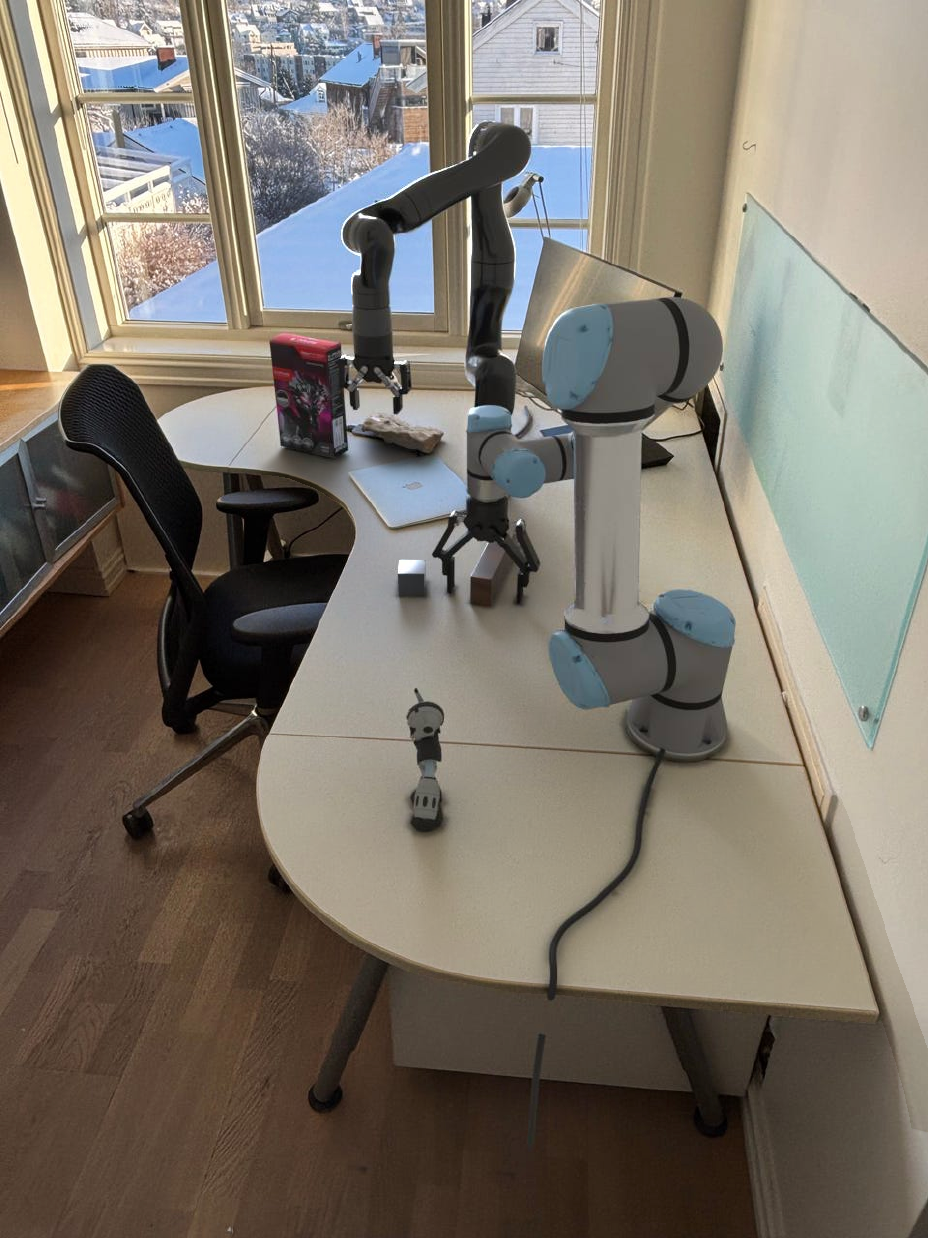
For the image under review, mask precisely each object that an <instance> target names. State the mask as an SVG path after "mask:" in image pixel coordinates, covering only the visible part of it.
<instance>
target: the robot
mask: <svg viewBox="0 0 928 1238" xmlns="http://www.w3.org/2000/svg"><path fill="white" fill-rule="evenodd" d="M413 691H414V694H415V696H416V699H417V703H415V704H414V705H413V706H411V707H410V708H409V709H408V711H407V713H406V714H405V716H406V717H405V718H406V720H407V722H406V724H407V725H408V728H409V738H410V739H411V740H413V742H412V743H413V745H414V747H415V749H416V764H417V766H418V769H419V770H420V773H421V775H420V778H419V780H418V784H417V786H416V788H415V789H414V791H413V792H412V793H411V795H410V796H409V798H410V801H411V803H412V805H413V815H412V817H411V820H410V822H409V823H410V825H411V826H412V827H413V828H414V829H415V830H416V831H420V832H424V833H425V832H431V831H433V830H435V829H437V828H440V827H441V826H442V822H443V820H444V817H443V809H442V806H441V802H442V801H443V798H442V797H443V795H442V794H443V793H442V789H441V787H440V784H439V780H437V777H436V776H435V774H436V773H437V769H438V768H437V767H438V765H437V764H438V763H442V756H443V754H442V746H441V743H440V738H439V734H441V732H442V731H441V727H442V726H443V724H444V723H445V713H444V709H443V708H442V707H441V706H440V705H439V704H437V703H436V702H433V701H430V700H424V698H423V696H422V695H421V693H420V691H419V690H418V688H417V687H415V688H414V689H413ZM437 762H438V763H437Z"/></svg>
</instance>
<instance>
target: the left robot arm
mask: <svg viewBox="0 0 928 1238" xmlns="http://www.w3.org/2000/svg"><path fill="white" fill-rule="evenodd" d="M466 150H467V151H466V154H467V159H465V160H463V161H461V162H459V163H457V164H455V165H452V166H450V167H446V168H443V169H441V170H438V171H434V172H431V173H429V174H427V175H424V176H423V177H420V178H418V179H417V180H414V181H413V182H411V183H409V184H408V185H407V186H405V187H403V188H402V189H400V190H399V191H398V192H396V193H395V194H393V195H391V196H390V197H388V198H386V199H382V200H379V201H377V202H374V203H372V204H370V205H367V206H365V207H363V208H361V209H359V210H357V211H355V212H354V213H352V214H351V215H350V216H349V217H348V218H347V219H346V220H345V221H344V223H343V226H342V229H341V240H342V243H343V245H344V247H345V248H346V249H347V250H348V251H349V252H351V253H353V254H355V255H357V256H360V265H359V270H357V271H356V272H354V273H353V274H352V275H351V276H352V277H351V303H352V310H351V311H352V312H351V328H352V343H353V344H352V345H353V355H354V356H353V357H351V356H349V355H348V354H344V355H342V357H341V358H340V359H339V386H340V387H341V388H344V390H345V389H346V390H347V391H348V396H349V397H348V398H349V406H350V408H352V411H358V410H359V409H360V408H361V401H360V389H359V388H358V387H359V386H360V384H361V383H362V382H363V381H365V383H376V384H382V383H383V385H385V388H387V389H389V391H390V392H391V393H392V395H393V396H392V413H393V415H399V414H400V412H401V411H402V410H403V408H404V405H403V404H404V403H403V402H404V401H403V399H404V398H403V395H405V396H406V395H408V394H409V393H410V392H411V391H412V389H413V386H412V374H411V362H410V361H409V360H407V359H406V360H404V361H396V360H395V358H394V333H393V331H394V330H393V314H392V313H393V312H392V309H391V307H392V306H391V290H390V289H391V287H390V280H391V276H392V272H393V265H394V260H395V255H396V237H395V236H396V235H408V234H412V233H414V232H415V231H417V230H418V229H420V228H421V227H423V226H424V225H426V224H427V223H429V222H431V221H432V220H433V219H435V218H437V217H438V216H440V215H441V214H443V213H444V212H446V211H448V210H449V209H451V208H452V207H454V206H456V205H458V204H460V203H461V202H463V201H465V200H468V199H469V202H470V203H469V204H470V205H469V206H470V210H469V211H470V214H469V216H470V217H469V218H470V219H469V222H470V223H469V225H470V226H469V227H470V228H469V231H470V233H469V234H470V235H469V238H470V239H469V241H470V242H469V260H468V261H469V262H468V280H469V281H468V285H469V287H468V288H469V289H468V317H469V318H468V332H467V341H466V347H465V348H466V349H465V356H464V373H465V376H466V378H467V380H468V381H469V383H470V384H471V385H472V386H473V387H474V401H473V402H474V403H473V405H474V406H471V408H470V409H469V411H468V413H469V412H470V411H471V410H472V409H474V408H476V407H479V406H486V405H494V406H500V407H503V408H505V409H507V410H508V411H509V412H510V414H511V417H512V416H513V413H514V411H515V405H516V404H515V403H516V394H517V369H516V368H517V367H516V365H515V363H514V361H513V360H512V359H511V358H510V357H509V356H507V355H506V354H505V353H504V352H503V343H502V341H503V340H502V338H503V337H502V335H503V331H502V330H503V329H502V328H503V319H504V315H505V312H506V309H507V307H508V305H509V302H510V299H511V298H512V294H513V291H514V285H515V278H516V259H517V257H516V255H517V254H516V253H517V252H516V245H515V240H514V237H513V233H512V230H511V227H510V224H509V221H508V218H507V215H506V212H505V207H504V201H503V200H504V199H503V183H504V182H507V181H509V180H511V179H513V178H516V177H517V176H519V175H520V174H522V173H523V171H524V170H526V168H527V166H528V165H529V162H530V160H531V156H532V142H531V139H530V137H529V135H528V133H527V132H526V131H525V130H524V129H523V128H522V127H520V126H518V125H515V124H512V123H507V122H500V121H494V120H483V121H481V122H479V123H478V124H476V125H475V127H474V128H473V129H472V131H471V133H470V135H469V138H468V142H467V149H466ZM352 366H353V367H354V369H355V370H356V371H357V374H356V375H355V377H354V378H353V379H352V381H351V380H350V368H351V367H352ZM395 369H396V370H397V373H398V374H399V375H400V382H399V381H398V378H397V376H396V375H395V373H394V371H395ZM400 383H401V384H400ZM523 409H524V411H525V413H526V416H527V419H526V423H525V425H524V426H523V427H522V428H521V429H520V430H519V431H517V432H516V433H515V434H513V435H514V436H515V437H516V438H517V439H518V438H519V437H520V436H521V435H522V434H524V432H525V431H526V430H527V429H528V427H529V426H530V424H531V419H532V418H531V417H532V416H531V412H530V411H529V408H528V406H527V405H524V406H523Z"/></svg>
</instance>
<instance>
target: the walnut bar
mask: <svg viewBox="0 0 928 1238" xmlns="http://www.w3.org/2000/svg"><path fill="white" fill-rule="evenodd" d="M508 519H509V518H508ZM509 521H513V522H519V520H518V519H509ZM507 532H508V534H509V535H510V538H511V540H512V541H513V542H514V543H515V545H516V546H517V547H518V548H519V546H520V544H519V542H518V540H517V536H516V534H514V533H513V531H512V529H508V530H507ZM512 562H513V560H512V559H511V558H510V556H509V555H508V554H507V553H506V551H505V550H504V549H503V548H502V547H500V546H499V545H498V543H497V542H494V543H489V542H487V544H486V546H485V548H484V550H483V551H482V553H481V556H480V557H479V560H478V561H477V563H476V565H475V567H474V569H473V571H472V573H471V575H470V577H469V578H470V580H469V581H470V585H469V587H470V588H469V604H470V605H476V606H480V607H488V608H491V607H492V605H493V603H494V600H495V598H496V596H497V594H498V592H499V590H500V588H501V586H502V583H503V581H504V579H505V577H506V574H507V572H508V570H509V568H510V565H511V563H512Z"/></svg>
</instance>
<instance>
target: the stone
mask: <svg viewBox="0 0 928 1238" xmlns="http://www.w3.org/2000/svg"><path fill="white" fill-rule="evenodd" d="M360 430H361V432H363V433H365V432H371V433H373V435H374V436H376V437H378V438H382V439H383V441H384V442H385V443H388V444H392V443H394V444H395V445H398V446H400V447H404V448H406V449H410V450H416V451H417V450H418V451H420V452H422V453H426V454H431V453H432V452H433V451H434V449H435V446H436V445H437V444H438V443H439V442H440V441H441V440H442V438H443V437H444V432H443V431H442V430H439V429H438V428H434V427H431V426H422V425H417V424H409V423H408V422H406V421H404V420H400V419H399V417H397V416H396V417H395V416H394V414H388V413H384V412H379V413H377V414H369V415H368V416H366V419H365V420H364V421H363V423H362V425H361V427H360Z"/></svg>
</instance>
